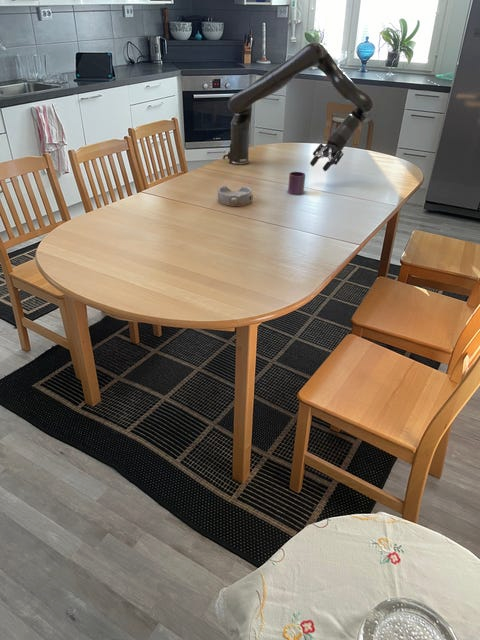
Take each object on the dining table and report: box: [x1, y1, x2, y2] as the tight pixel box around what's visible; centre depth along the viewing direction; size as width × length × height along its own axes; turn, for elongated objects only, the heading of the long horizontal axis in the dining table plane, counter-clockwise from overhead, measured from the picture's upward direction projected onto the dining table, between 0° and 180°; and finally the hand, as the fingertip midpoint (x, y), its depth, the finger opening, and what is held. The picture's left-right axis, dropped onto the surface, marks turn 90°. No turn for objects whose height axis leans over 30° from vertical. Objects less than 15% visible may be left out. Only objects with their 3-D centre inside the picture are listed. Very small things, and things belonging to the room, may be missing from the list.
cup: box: [287, 171, 306, 196], centre depth 214 cm, size 7×7×8 cm
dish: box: [217, 185, 254, 207], centre depth 203 cm, size 14×14×5 cm
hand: (317, 167), depth 216 cm, fingers open, 8 cm apart
